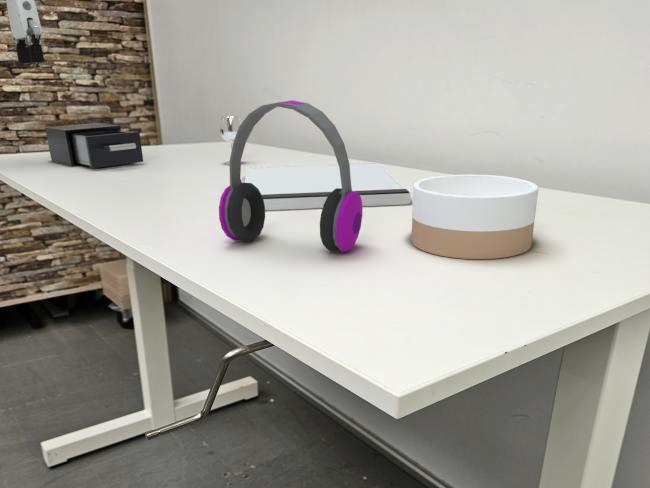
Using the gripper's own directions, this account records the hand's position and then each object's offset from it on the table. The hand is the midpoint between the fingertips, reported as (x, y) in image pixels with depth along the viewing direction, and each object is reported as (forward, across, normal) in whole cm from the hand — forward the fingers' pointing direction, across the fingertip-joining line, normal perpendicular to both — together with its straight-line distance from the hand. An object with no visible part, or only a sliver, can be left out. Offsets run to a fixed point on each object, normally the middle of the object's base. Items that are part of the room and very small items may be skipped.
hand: (31, 62), depth 163 cm
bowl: (+26, -135, -11) cm, 138 cm away
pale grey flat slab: (+26, -89, -23) cm, 96 cm away
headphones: (+26, -117, +8) cm, 120 cm away
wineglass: (+26, -45, -32) cm, 61 cm away
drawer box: (+26, -7, -8) cm, 28 cm away
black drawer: (+25, -22, -8) cm, 35 cm away
